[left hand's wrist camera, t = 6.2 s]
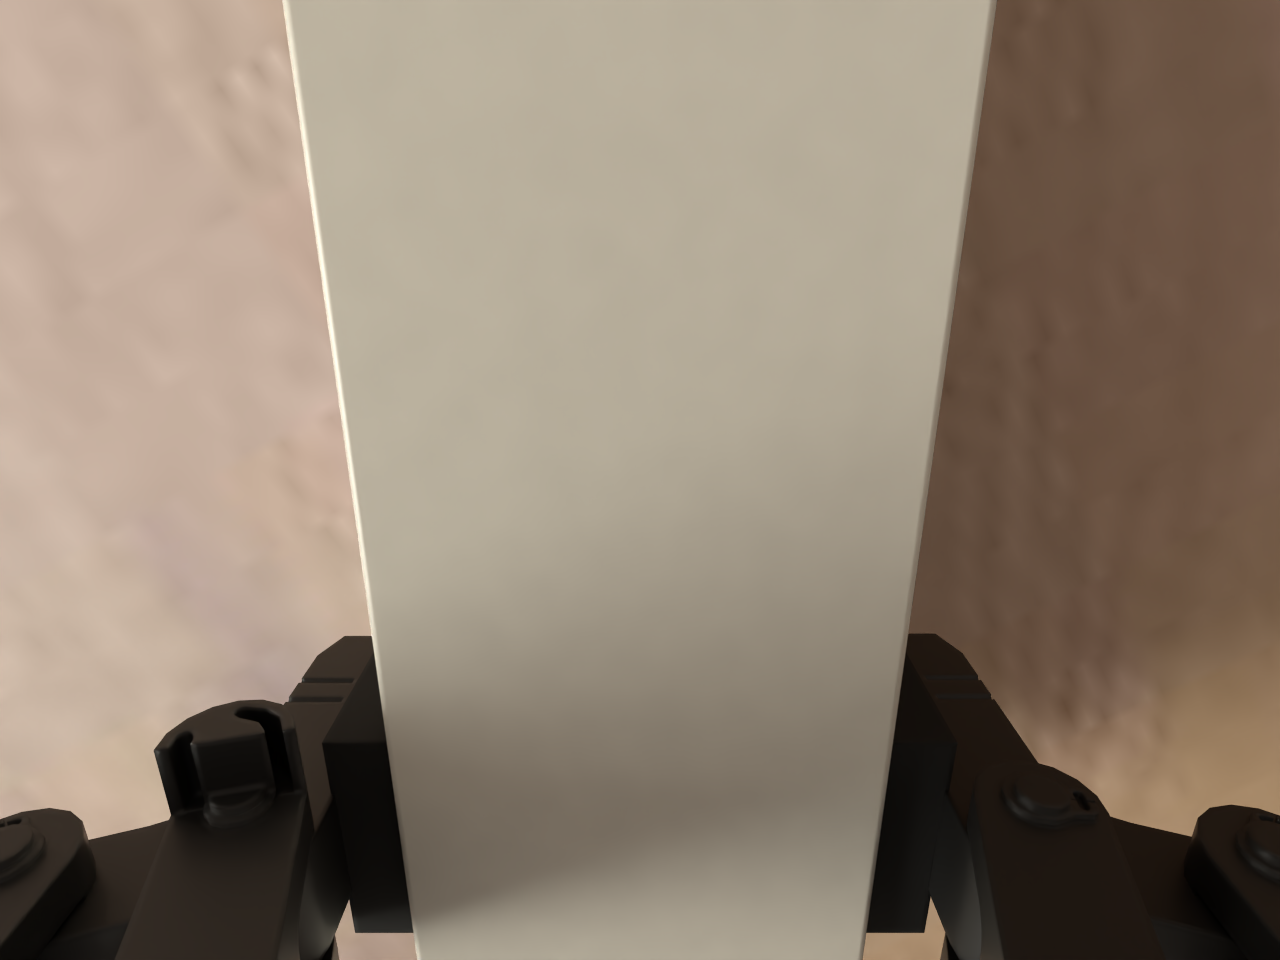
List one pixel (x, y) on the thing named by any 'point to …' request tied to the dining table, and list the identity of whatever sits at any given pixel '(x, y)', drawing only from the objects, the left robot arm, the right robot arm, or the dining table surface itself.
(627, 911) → the post
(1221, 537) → the dining table surface
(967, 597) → the dining table surface
